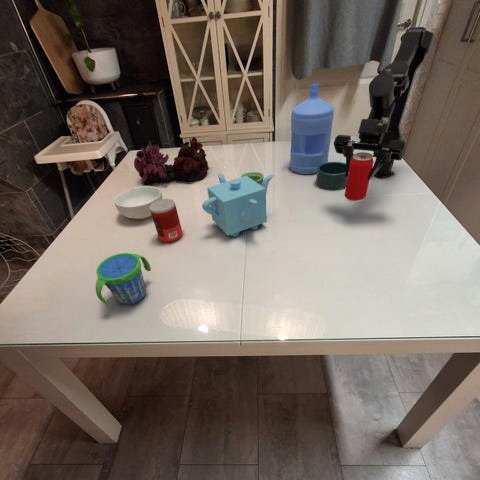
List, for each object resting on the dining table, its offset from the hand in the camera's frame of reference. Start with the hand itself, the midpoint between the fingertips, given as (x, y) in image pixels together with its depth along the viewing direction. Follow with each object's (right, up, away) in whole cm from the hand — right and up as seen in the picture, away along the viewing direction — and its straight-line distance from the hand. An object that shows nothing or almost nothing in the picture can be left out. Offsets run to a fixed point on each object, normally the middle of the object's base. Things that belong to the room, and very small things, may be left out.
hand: (357, 177), depth 85 cm
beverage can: (+1, -4, +6) cm, 7 cm away
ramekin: (-29, +11, +32) cm, 44 cm away
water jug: (-5, +24, +40) cm, 47 cm away
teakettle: (-33, -9, +14) cm, 37 cm away
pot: (+2, +12, +28) cm, 31 cm away
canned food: (-56, -14, +13) cm, 59 cm away
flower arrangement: (-62, +21, +45) cm, 80 cm away
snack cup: (-62, -35, -6) cm, 72 cm away
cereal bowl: (-69, -2, +25) cm, 74 cm away
